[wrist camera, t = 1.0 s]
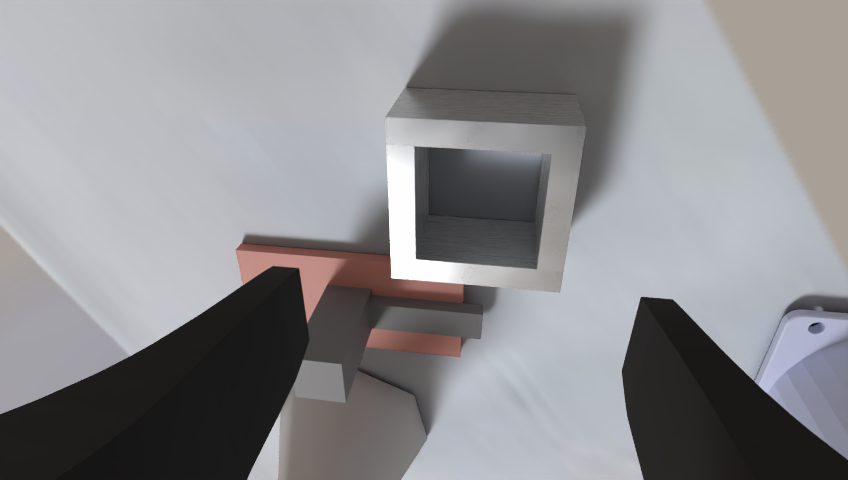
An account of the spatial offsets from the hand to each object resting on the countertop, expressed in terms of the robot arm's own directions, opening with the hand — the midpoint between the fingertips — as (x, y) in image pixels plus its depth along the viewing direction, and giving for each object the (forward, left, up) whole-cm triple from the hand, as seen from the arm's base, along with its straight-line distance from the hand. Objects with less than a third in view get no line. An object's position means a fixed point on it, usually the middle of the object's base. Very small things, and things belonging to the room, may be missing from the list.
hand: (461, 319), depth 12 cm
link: (0, 0, -8) cm, 8 cm away
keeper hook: (+5, +6, -8) cm, 11 cm away
